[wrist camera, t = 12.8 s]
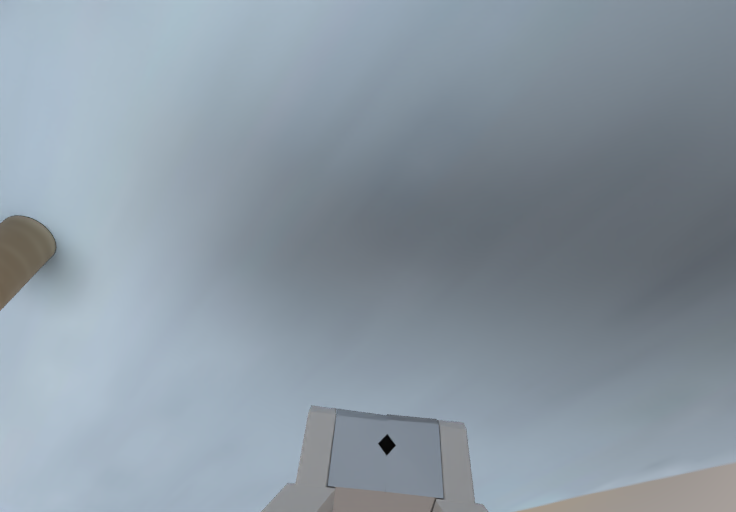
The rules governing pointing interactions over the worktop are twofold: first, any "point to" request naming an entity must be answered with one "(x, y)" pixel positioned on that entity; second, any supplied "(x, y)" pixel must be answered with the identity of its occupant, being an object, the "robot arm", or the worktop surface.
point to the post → (21, 253)
